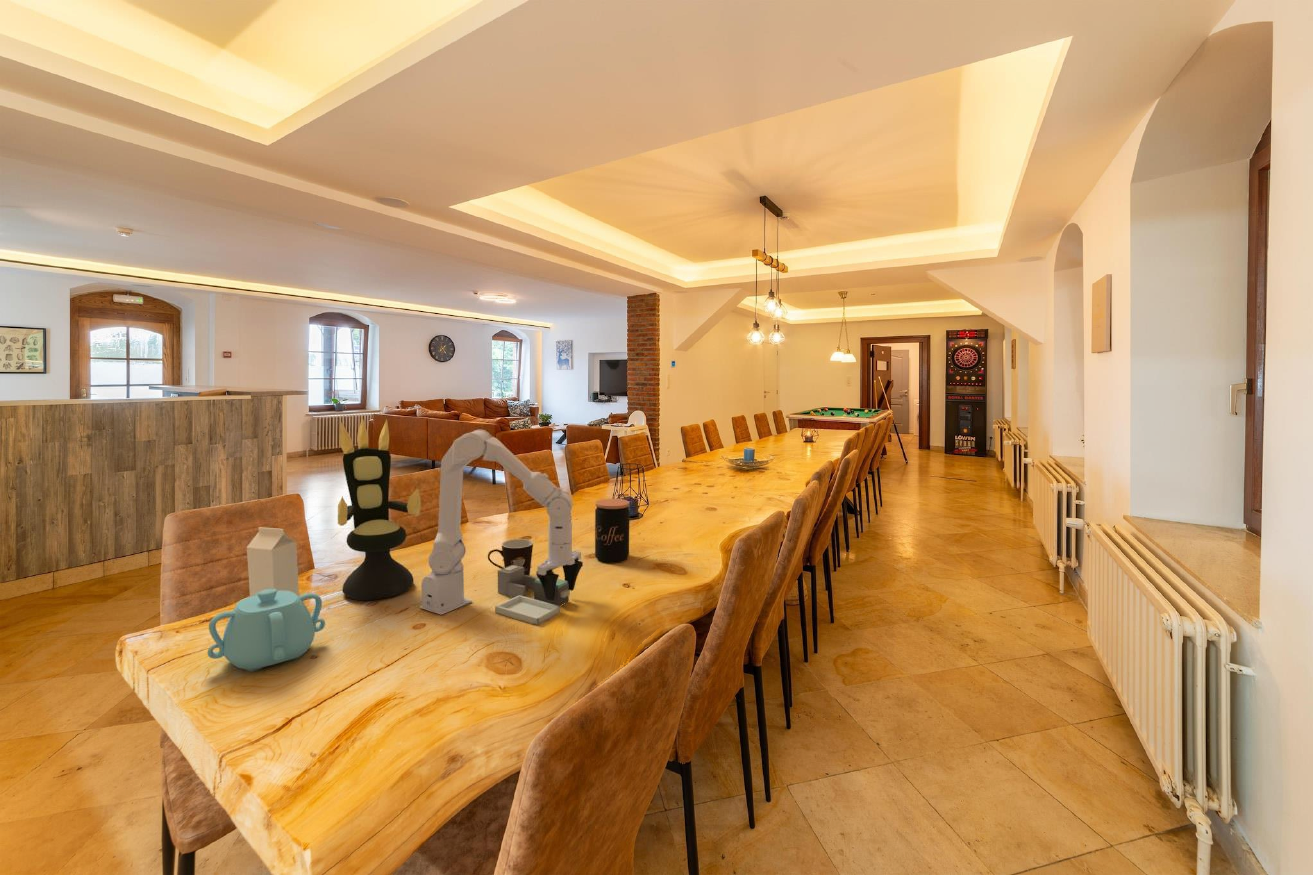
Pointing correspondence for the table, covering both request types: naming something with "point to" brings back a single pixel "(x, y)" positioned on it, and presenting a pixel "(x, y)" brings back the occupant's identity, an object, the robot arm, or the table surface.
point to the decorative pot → (266, 629)
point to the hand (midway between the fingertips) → (560, 594)
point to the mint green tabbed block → (560, 592)
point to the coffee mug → (516, 554)
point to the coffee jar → (612, 530)
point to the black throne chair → (373, 518)
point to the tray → (527, 609)
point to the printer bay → (514, 581)
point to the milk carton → (272, 562)
